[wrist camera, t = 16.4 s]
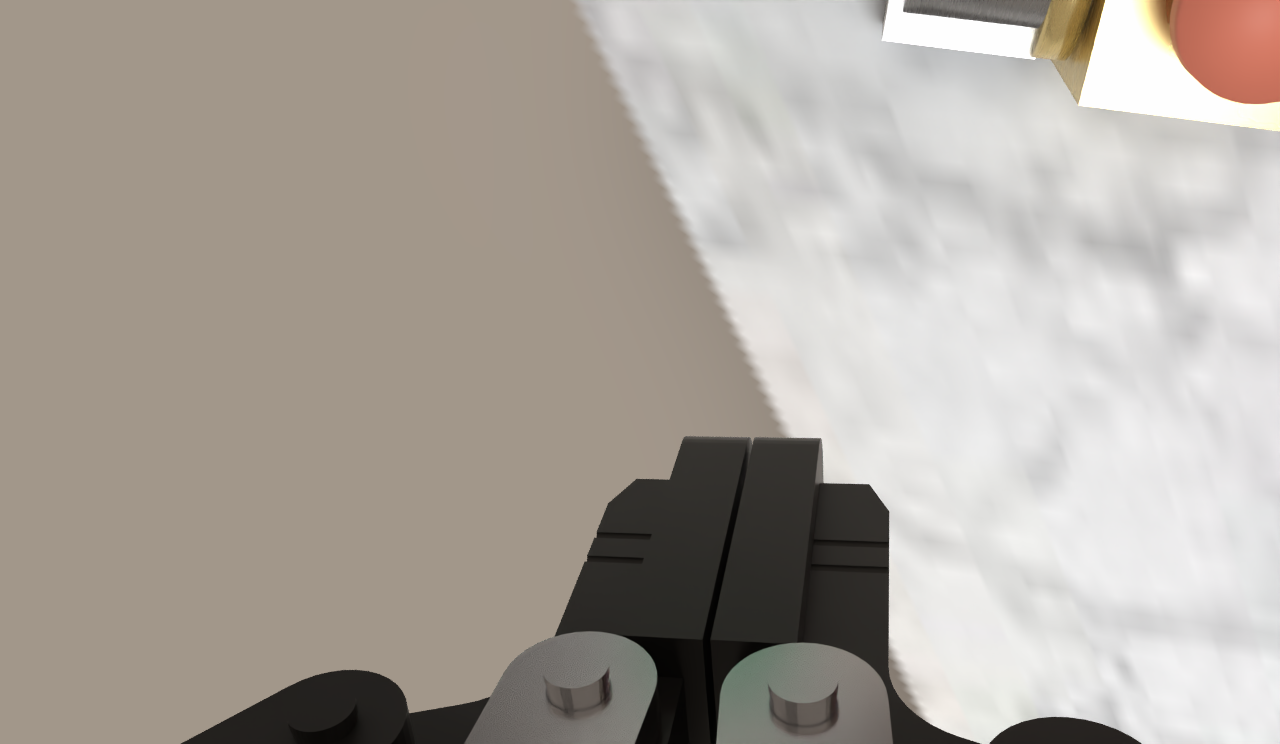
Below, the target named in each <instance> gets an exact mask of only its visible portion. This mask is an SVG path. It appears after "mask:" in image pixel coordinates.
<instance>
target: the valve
mask: <svg viewBox="0 0 1280 744" xmlns="http://www.w3.org/2000/svg"><path fill="white" fill-rule="evenodd" d="M1172 3H1173V0H887V3H886V9H885V15H884V20H883V31H882V41H889V42H898V43H906V44H914V45H922V46H930V47H938V48H946V49H954V50H962V51H970V52H979V53H987V54H995V55H1003V56H1011V57H1019V58H1027V59H1035V58H1042V59H1050V60H1051V61H1052V62H1053V64H1054V65H1055V67H1056V69H1057V70H1058V72H1059V74H1060V75H1061V77H1062V79H1063V80H1064V82H1065V84H1066V85H1067V87H1068V89H1069V90H1070V92H1071V94H1072V95H1073V97H1074V99H1075V100H1076V102H1077V104H1078V105H1080V106H1088V107H1096V108H1104V109H1111V110H1119V111H1127V112H1135V113H1143V114H1150V115H1158V116H1166V117H1174V118H1182V119H1190V120H1197V121H1205V122H1213V123H1221V124H1229V125H1236V126H1244V127H1252V128H1260V129H1268V130H1276V131H1280V102H1275V103H1269V104H1242V103H1237V102H1232V101H1229V100H1226V99H1223V98H1221V97H1219V96H1217V95H1215V94H1213V93H1212V92H1210V91H1209V90H1207V89H1206V88H1204V87H1203V86H1202V85H1201V84H1200V83H1199V82H1198V81H1197V80H1196V79H1195V78H1194V77H1193V76H1191V75H1190V74H1189V73H1188V72H1187V71H1186V69H1185V68H1184V67H1183V66H1182V64H1181V63H1180V61H1179V59H1178V57H1177V56H1176V54H1175V51H1174V48H1173V45H1172V41H1171V36H1170V12H1171V8H1172Z"/></svg>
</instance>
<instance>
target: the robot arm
mask: <svg viewBox="0 0 1280 744" xmlns="http://www.w3.org/2000/svg"><path fill="white" fill-rule="evenodd" d="M888 639H889V511H888V509H887V508H886V507H885V505H884V504H883V502H882V501H881V500H880V498H879V497H878V496H877V494H876V493H875V492H874V490H873V489H872V488H871V486H870V485H869V484H830V483H823V451H822V440H821V438H768V437H767V438H766V437H756V438H754V441H753V445H752V441H751V438H750V437H748V438H747V437H696V436H694V437H693V436H686V437H684V439H683V441H682V444H681V447H680V450H679V453H678V456H677V459H676V462H675V465H674V468H673V471H672V474H671V477H670V480H659V479H636V480H635V481H634V482H633V483H631V484H630V485H629V486H628V487H627V488H626V489H624V490H623V491H622V492H621V493H620V494H619V495H618V496H616V497H615V498H614V499H613V500H612V501H611V502H609V503H608V506H607V508H606V511H605V513H604V515H603V518H602V520H601V523H600V525H599V528H598V530H597V538H594V540H593V543H592V545H591V548H590V550H589V553H588V555H587V562H584V565H583V567H582V570H581V572H580V575H579V577H578V580H577V582H576V585H575V587H574V590H573V592H572V595H571V597H570V600H569V602H568V605H567V607H566V610H565V612H564V615H563V617H562V619H561V622H560V625H559V627H558V629H557V632H556V635H555V637H552V638H549V639H547V640H544V641H542V642H540V643H537V644H535V645H534V646H532V647H530V648H528V649H527V650H525V651H524V652H523V653H521V654H520V655H519V656H518V657H516V658H515V659H514V661H512V662H511V663H510V665H509V666H508V668H507V669H506V670H505V672H504V673H503V675H502V677H501V679H500V680H499V682H498V684H497V686H496V688H495V689H494V692H493V693H492V695H491V697H488V698H485V699H482V700H479V701H475V702H470V703H466V704H462V705H455V706H450V707H444V708H438V709H433V710H427V711H421V712H415V713H409V711H408V707H407V702H406V698H405V696H404V694H403V692H402V690H401V689H400V688H399V687H398V685H397V684H396V683H394V682H393V681H391V680H390V679H389V678H387V677H384V676H382V675H380V674H377V673H373V672H369V671H360V670H341V671H334V672H328V673H324V674H319V675H315V676H313V677H310V678H307V679H304V680H301V681H299V682H297V683H295V684H293V685H291V686H289V687H287V688H285V689H283V690H281V691H279V692H278V693H276V694H274V695H272V696H270V697H268V698H266V699H264V700H262V701H260V702H259V703H257V704H255V705H253V706H251V707H249V708H247V709H246V710H243V711H242V712H240V713H238V714H236V715H234V716H232V717H230V718H229V719H227V720H225V721H223V722H221V723H219V724H217V725H215V726H214V727H212V728H210V729H208V730H206V731H204V732H202V733H200V734H198V735H196V736H194V737H193V738H191V739H189V740H187V741H185V742H183V743H181V744H980V743H977V742H974V741H970V740H967V739H964V738H961V737H958V736H955V735H953V734H950V733H947V732H945V731H943V730H941V729H939V728H937V727H935V726H933V725H931V724H929V723H928V722H926V721H925V720H923V719H922V718H920V717H919V716H917V715H916V714H915V713H914V712H913V711H912V710H910V709H909V708H908V707H907V706H906V705H905V704H904V702H903V701H902V700H901V699H900V698H899V696H898V695H897V693H896V691H895V689H894V688H893V685H892V683H891V680H890V677H889V668H888ZM990 744H1141V743H1140V742H1138V741H1137V740H1135V739H1134V738H1132V737H1131V736H1129V735H1127V734H1125V733H1123V732H1121V731H1119V730H1116V729H1114V728H1111V727H1108V726H1106V725H1103V724H1100V723H1096V722H1092V721H1088V720H1083V719H1076V718H1069V717H1047V718H1037V719H1033V720H1028V721H1024V722H1021V723H1019V724H1016V725H1013V726H1011V727H1009V728H1008V729H1006V730H1004V731H1003V732H1001V733H1000V734H999V735H997V736H996V737H995V738H994V739H993V740H992V741H991V742H990Z"/></svg>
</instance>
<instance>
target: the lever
mask: <svg viewBox="0 0 1280 744" xmlns="http://www.w3.org/2000/svg"><path fill="white" fill-rule="evenodd" d="M1170 36H1171V41H1172V45H1173V48H1174V51H1175V54H1176V56H1177V57H1178V59H1179V61H1180V63H1181V64H1182V66H1183V67H1184V68H1185V69H1186V71H1187V72H1188V73H1189V74H1190V75H1191V76H1193V77H1194V78H1195V79H1196V80H1197V81H1198V82H1199V83H1200V84H1201V85H1202V86H1203V87H1204V88H1206V89H1207V90H1209V91H1210V92H1212V93H1213V94H1215V95H1217V96H1219V97H1221V98H1223V99H1226V100H1229V101H1232V102H1237V103H1242V104H1269V103H1275V102H1280V0H1173V3H1172V8H1171V12H1170Z"/></svg>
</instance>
